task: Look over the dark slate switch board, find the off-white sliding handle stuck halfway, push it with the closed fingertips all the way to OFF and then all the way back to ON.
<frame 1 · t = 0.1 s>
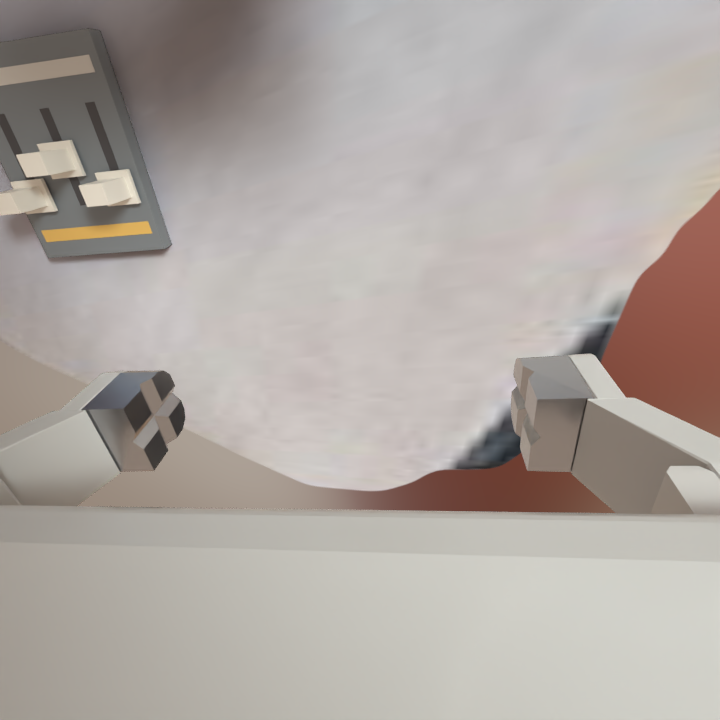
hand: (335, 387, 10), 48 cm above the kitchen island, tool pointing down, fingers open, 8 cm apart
switch board: (76, 157, 54), on the kitchen island
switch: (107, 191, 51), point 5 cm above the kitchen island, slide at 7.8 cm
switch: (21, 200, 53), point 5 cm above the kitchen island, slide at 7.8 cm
switch mid: (48, 162, 50), point 5 cm above the kitchen island, slide at 4.0 cm
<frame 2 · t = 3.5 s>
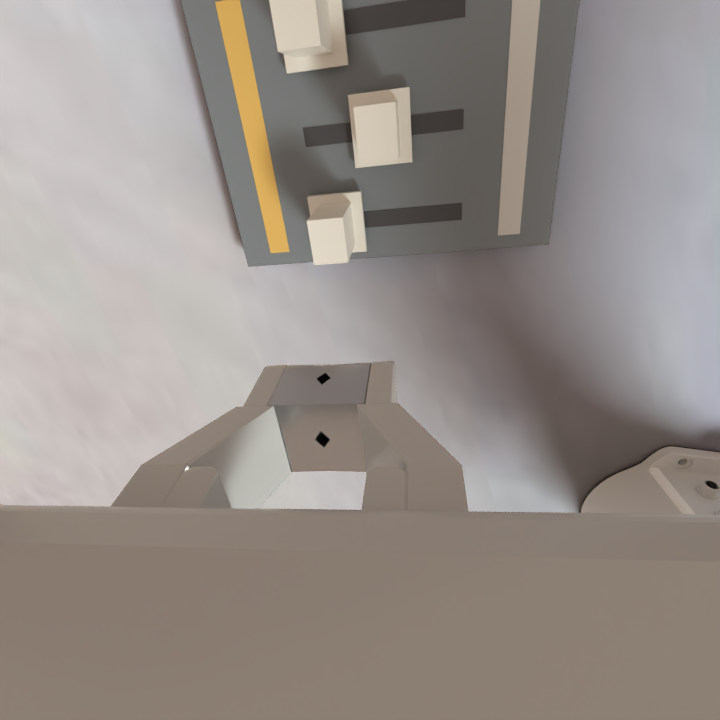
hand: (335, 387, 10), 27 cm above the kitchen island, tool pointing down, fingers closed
switch board: (383, 127, 31), on the kitchen island
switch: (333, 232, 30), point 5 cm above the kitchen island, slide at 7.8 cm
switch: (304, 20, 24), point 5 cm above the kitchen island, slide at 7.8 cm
switch mid: (379, 131, 27), point 5 cm above the kitchen island, slide at 4.0 cm
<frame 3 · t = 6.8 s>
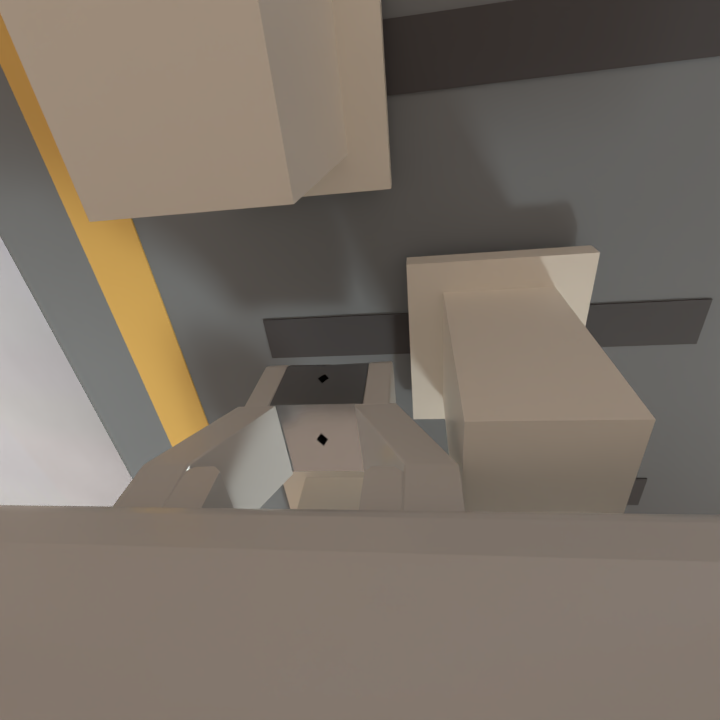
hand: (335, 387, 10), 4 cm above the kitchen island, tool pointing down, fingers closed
switch board: (462, 299, 13), on the kitchen island
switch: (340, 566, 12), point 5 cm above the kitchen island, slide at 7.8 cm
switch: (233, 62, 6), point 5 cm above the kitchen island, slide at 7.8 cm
switch mid: (510, 397, 8), point 5 cm above the kitchen island, slide at 3.5 cm, touching gripper
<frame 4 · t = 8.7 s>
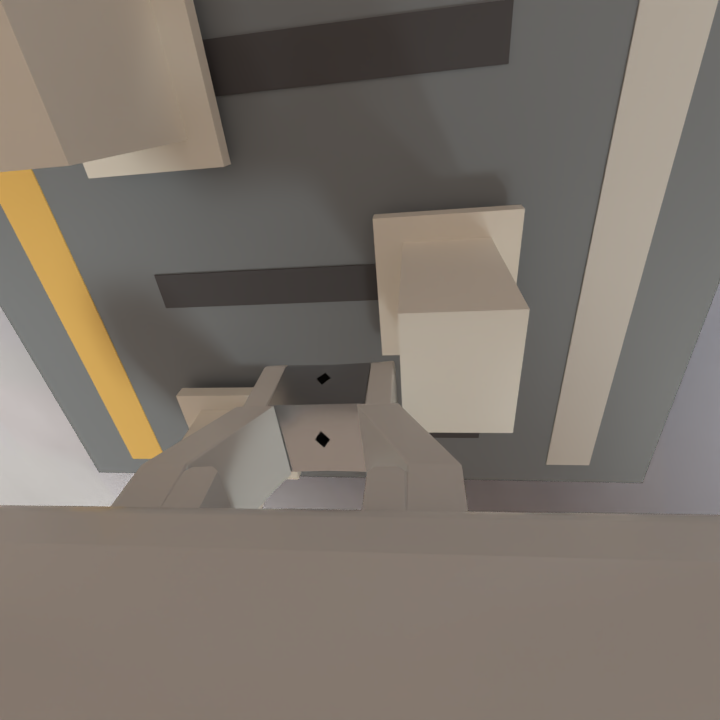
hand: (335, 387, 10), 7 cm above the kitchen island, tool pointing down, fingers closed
switch board: (327, 263, 15), on the kitchen island
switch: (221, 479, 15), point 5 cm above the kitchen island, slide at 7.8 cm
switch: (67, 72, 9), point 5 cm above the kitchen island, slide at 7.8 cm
switch mid: (450, 321, 11), point 5 cm above the kitchen island, slide at -0.1 cm
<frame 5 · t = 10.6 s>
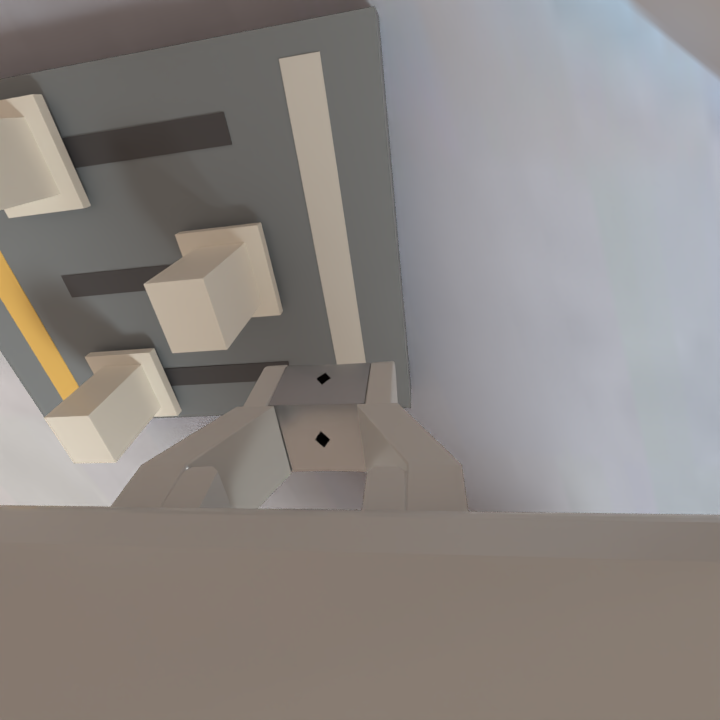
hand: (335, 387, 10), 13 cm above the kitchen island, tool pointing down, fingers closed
switch board: (180, 264, 23), on the kitchen island
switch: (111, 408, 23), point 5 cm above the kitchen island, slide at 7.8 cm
switch mid: (212, 292, 18), point 5 cm above the kitchen island, slide at -0.1 cm
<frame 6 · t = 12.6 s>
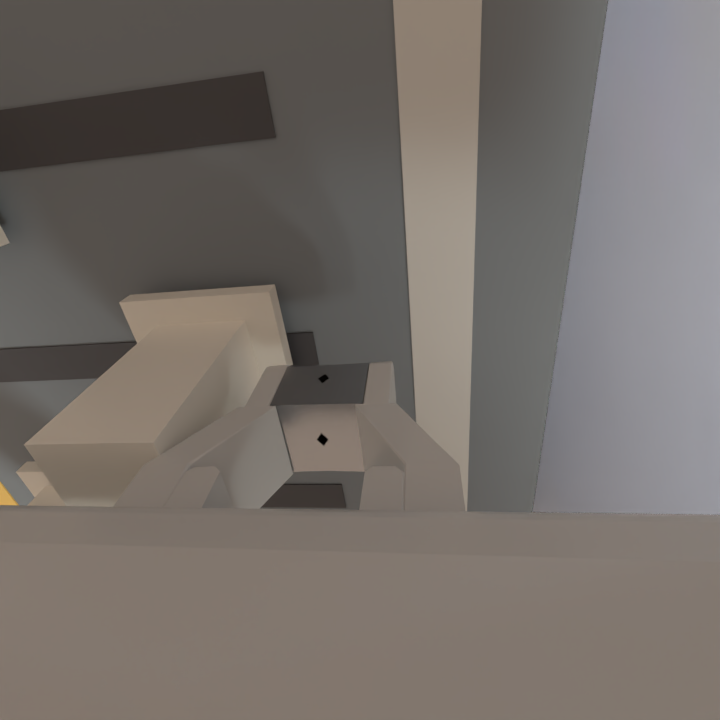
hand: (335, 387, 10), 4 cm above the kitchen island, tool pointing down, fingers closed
switch board: (171, 328, 14), on the kitchen island
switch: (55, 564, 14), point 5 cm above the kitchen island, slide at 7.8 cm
switch mid: (184, 418, 10), point 5 cm above the kitchen island, slide at 1.1 cm, touching gripper
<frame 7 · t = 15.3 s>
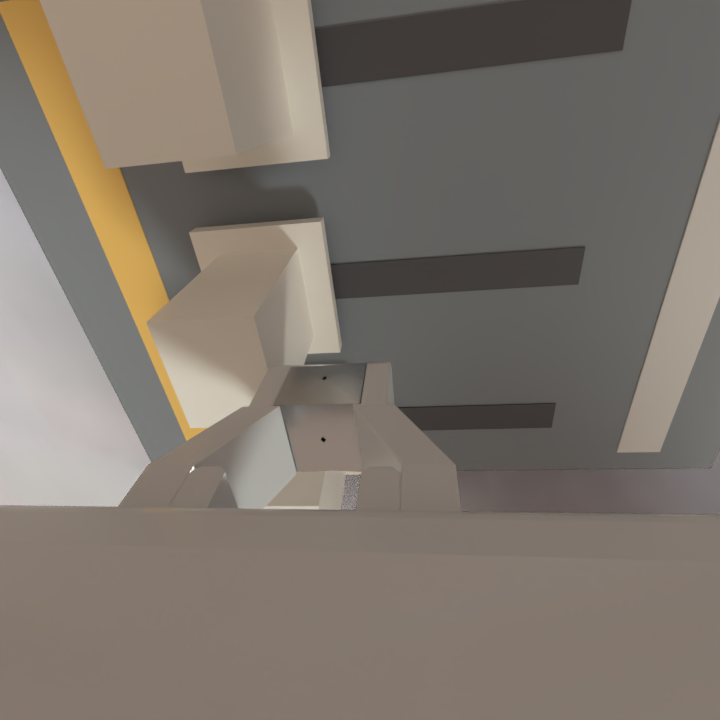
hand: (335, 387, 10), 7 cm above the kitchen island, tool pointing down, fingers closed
switch board: (402, 256, 15), on the kitchen island
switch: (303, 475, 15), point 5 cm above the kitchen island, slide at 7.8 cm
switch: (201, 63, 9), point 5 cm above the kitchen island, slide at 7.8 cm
switch mid: (251, 326, 12), point 5 cm above the kitchen island, slide at 8.2 cm, touching gripper
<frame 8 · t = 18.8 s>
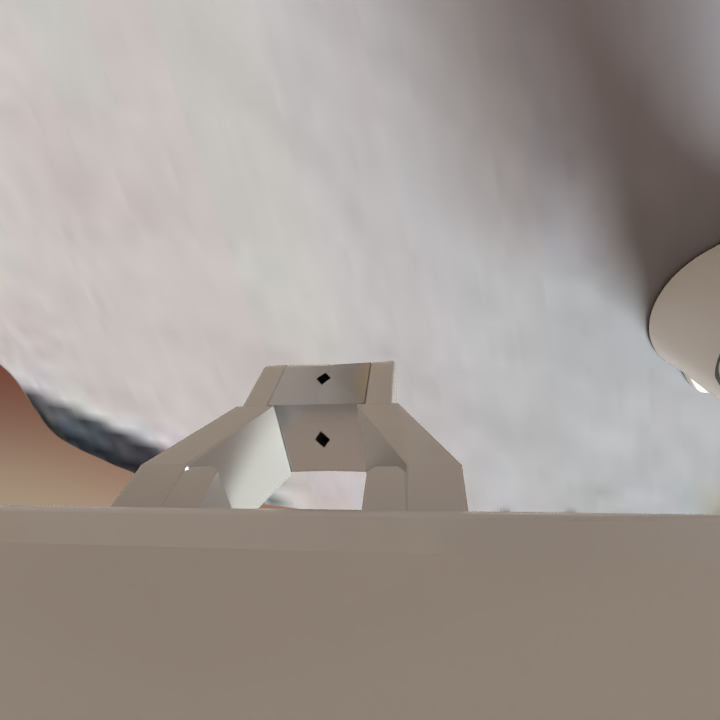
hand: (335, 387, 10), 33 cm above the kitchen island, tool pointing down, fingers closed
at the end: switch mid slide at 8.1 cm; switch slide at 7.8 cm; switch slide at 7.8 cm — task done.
